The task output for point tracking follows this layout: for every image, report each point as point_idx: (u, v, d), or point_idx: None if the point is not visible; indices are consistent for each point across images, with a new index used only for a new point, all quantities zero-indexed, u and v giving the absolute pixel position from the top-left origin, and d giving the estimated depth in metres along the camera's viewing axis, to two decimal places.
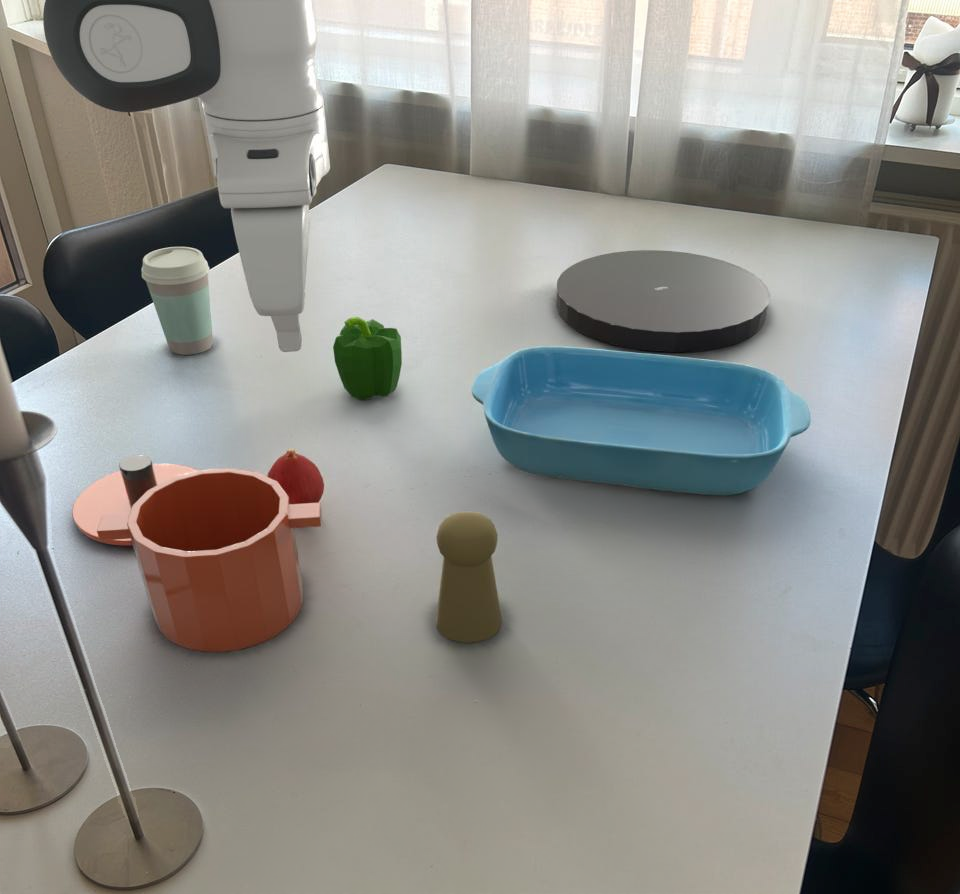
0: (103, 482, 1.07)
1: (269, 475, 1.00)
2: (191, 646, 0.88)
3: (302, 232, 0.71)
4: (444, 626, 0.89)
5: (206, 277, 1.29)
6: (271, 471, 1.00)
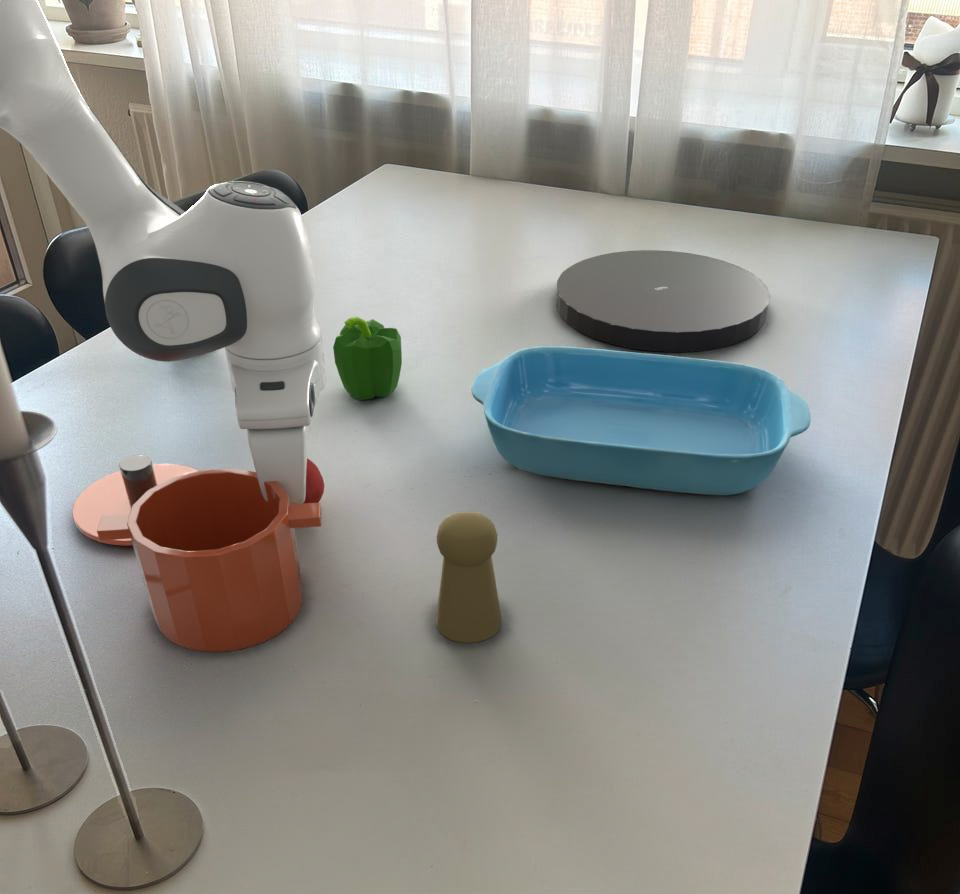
0: (103, 482, 1.07)
1: None
2: (191, 646, 0.88)
3: (303, 446, 0.89)
4: (444, 626, 0.89)
5: None
6: None
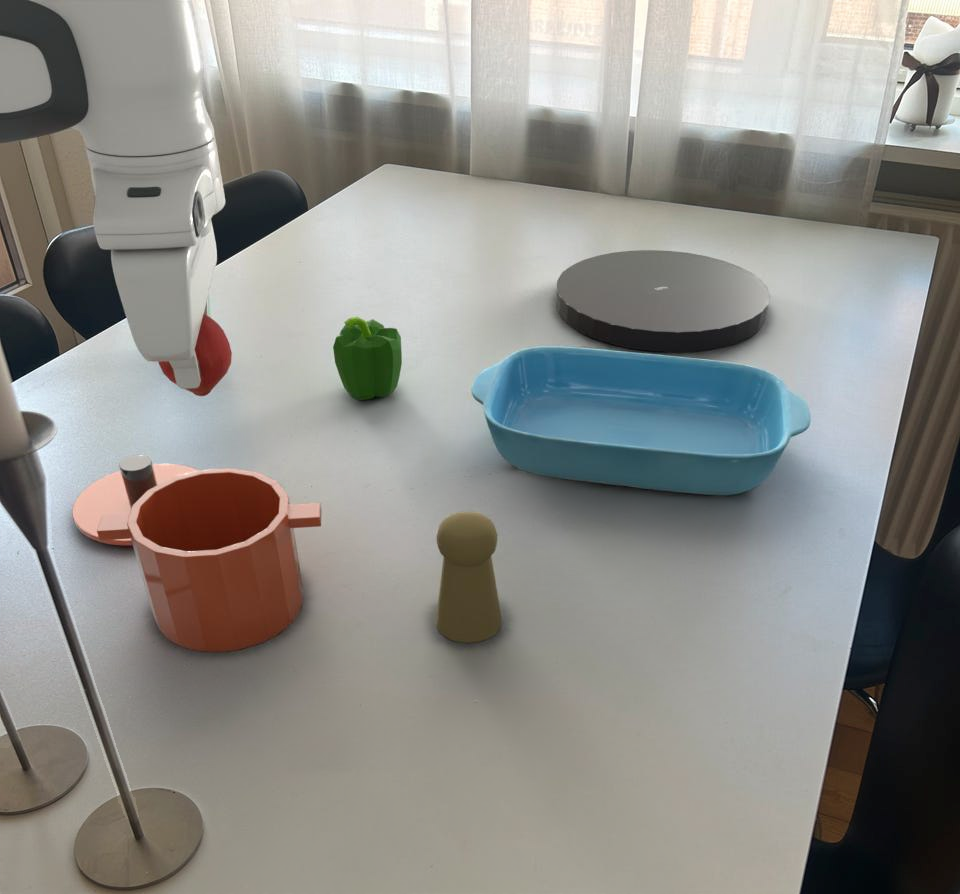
0: (103, 482, 1.07)
1: None
2: (191, 646, 0.88)
3: (187, 275, 0.67)
4: (444, 626, 0.89)
5: None
6: None
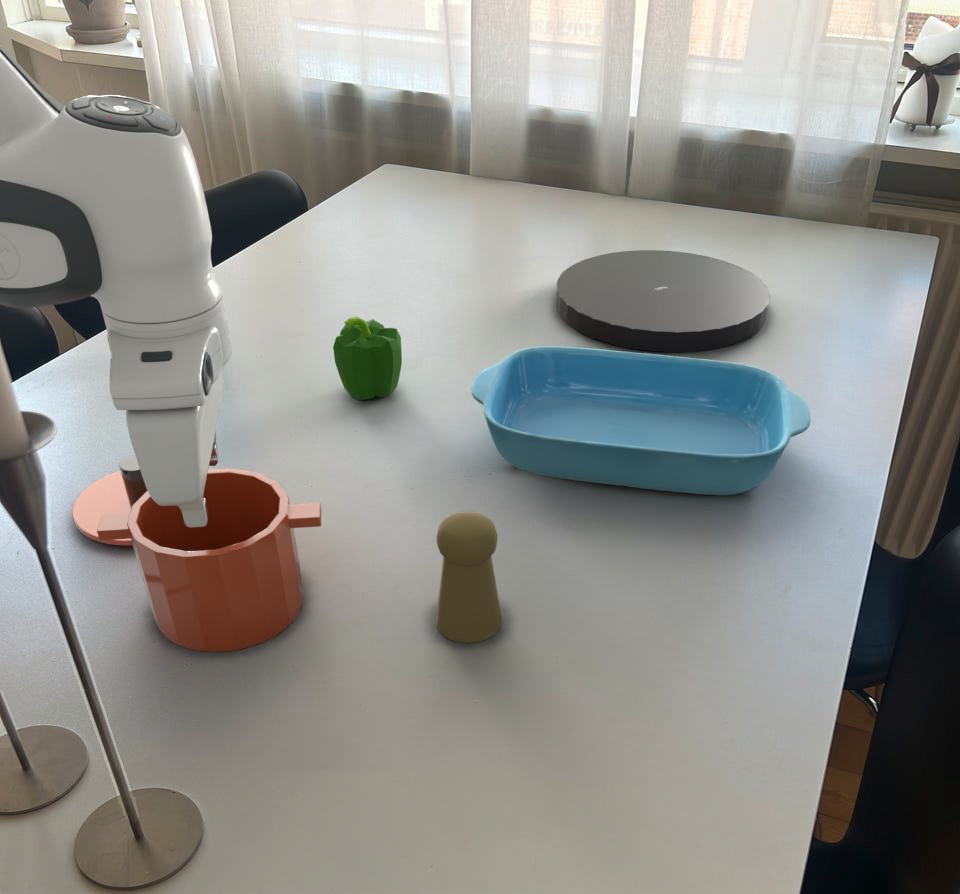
0: (103, 482, 1.07)
1: None
2: (191, 646, 0.88)
3: (196, 432, 0.72)
4: (444, 626, 0.89)
5: None
6: None
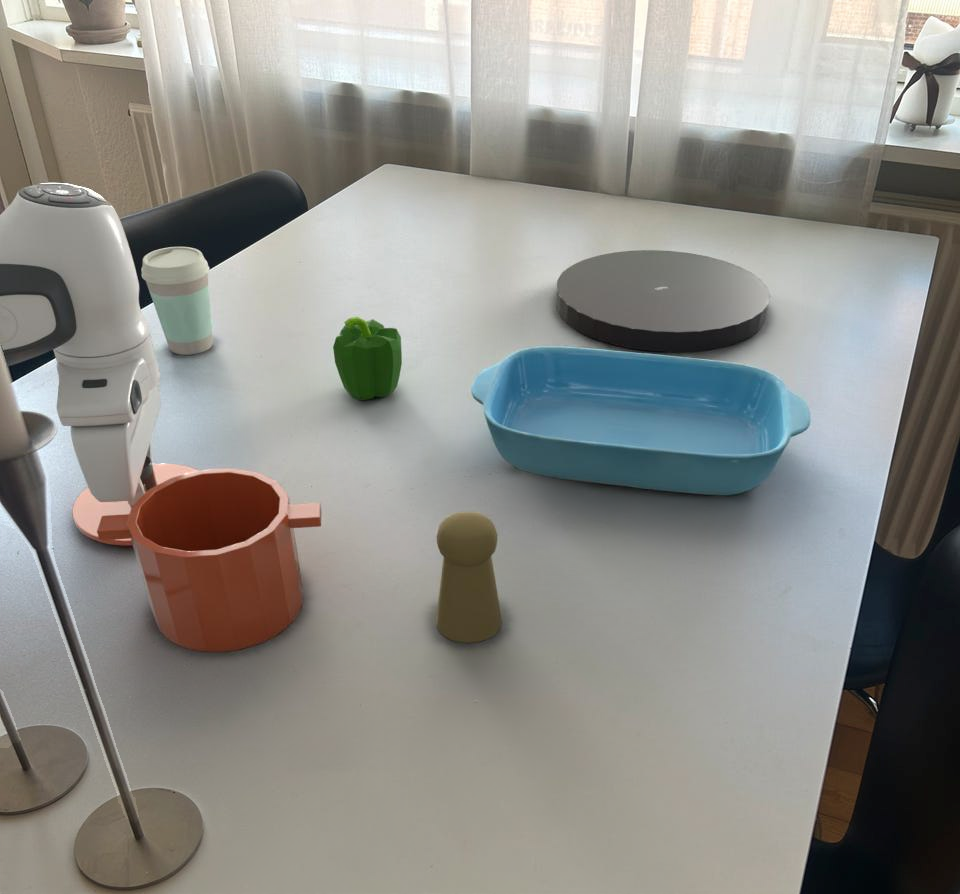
0: None
1: None
2: (191, 646, 0.88)
3: (126, 443, 0.90)
4: (444, 626, 0.89)
5: (206, 277, 1.29)
6: None
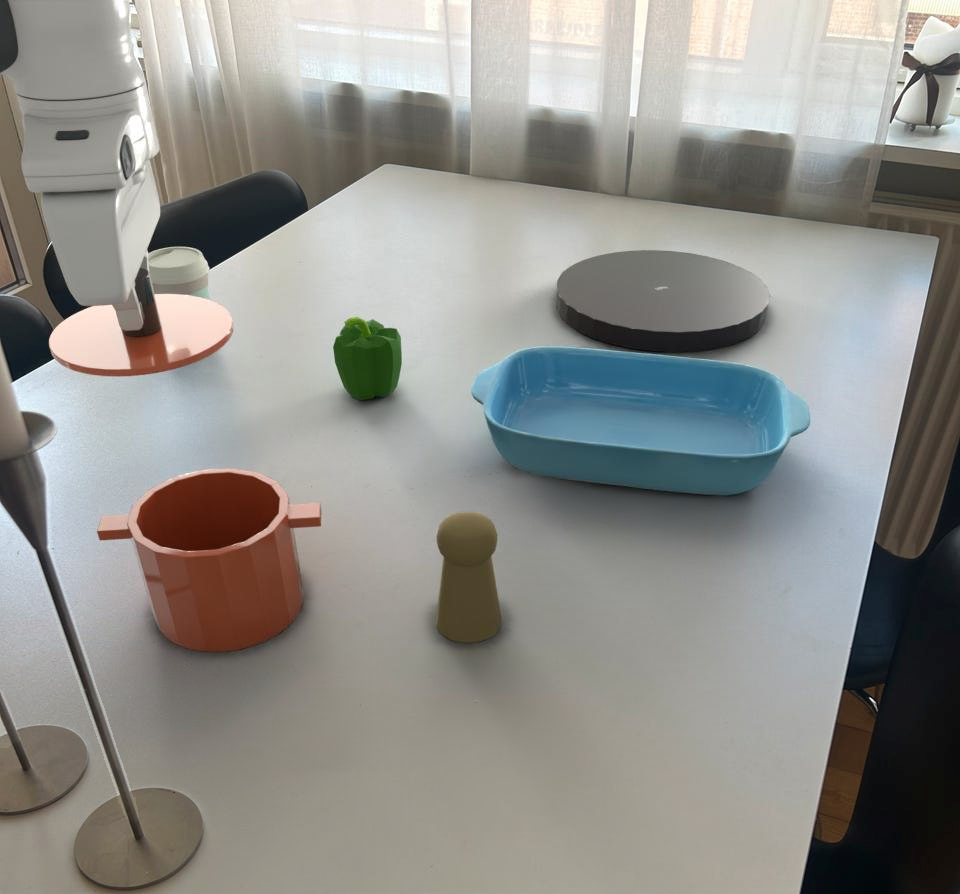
0: (89, 312, 0.85)
1: None
2: (191, 646, 0.88)
3: (116, 217, 0.68)
4: (444, 626, 0.89)
5: (206, 277, 1.29)
6: None
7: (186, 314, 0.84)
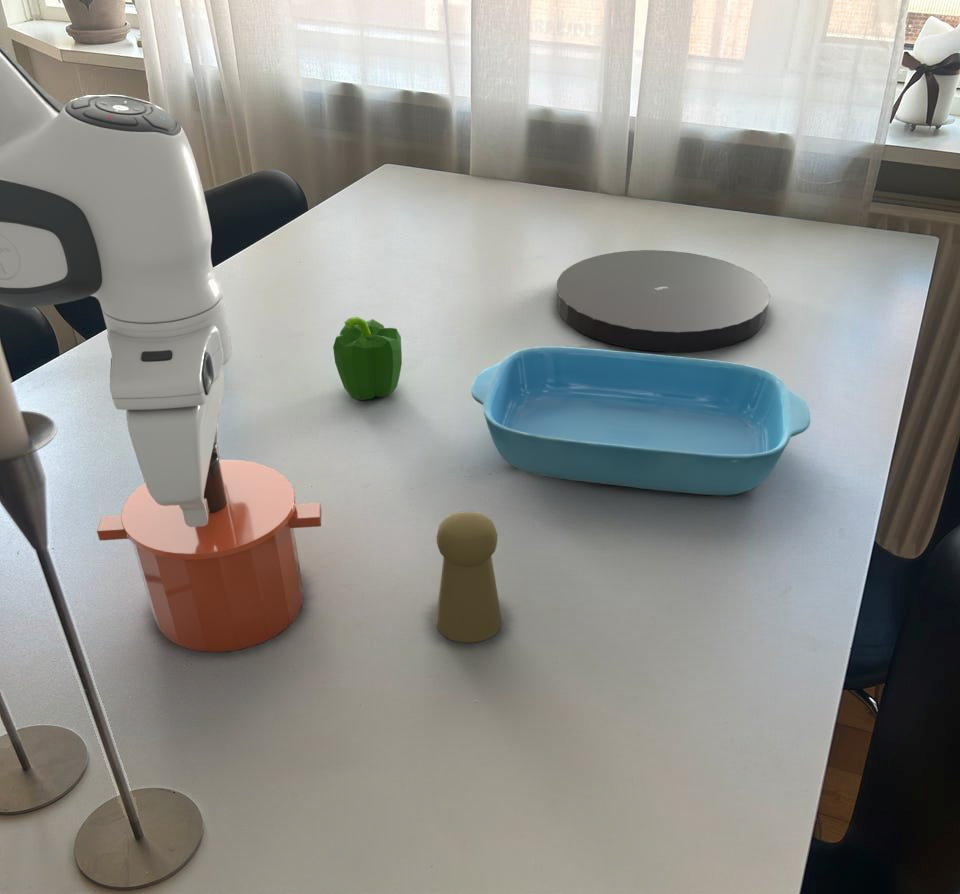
0: None
1: None
2: (191, 646, 0.88)
3: (196, 431, 0.72)
4: (444, 626, 0.89)
5: None
6: None
7: (250, 485, 0.88)
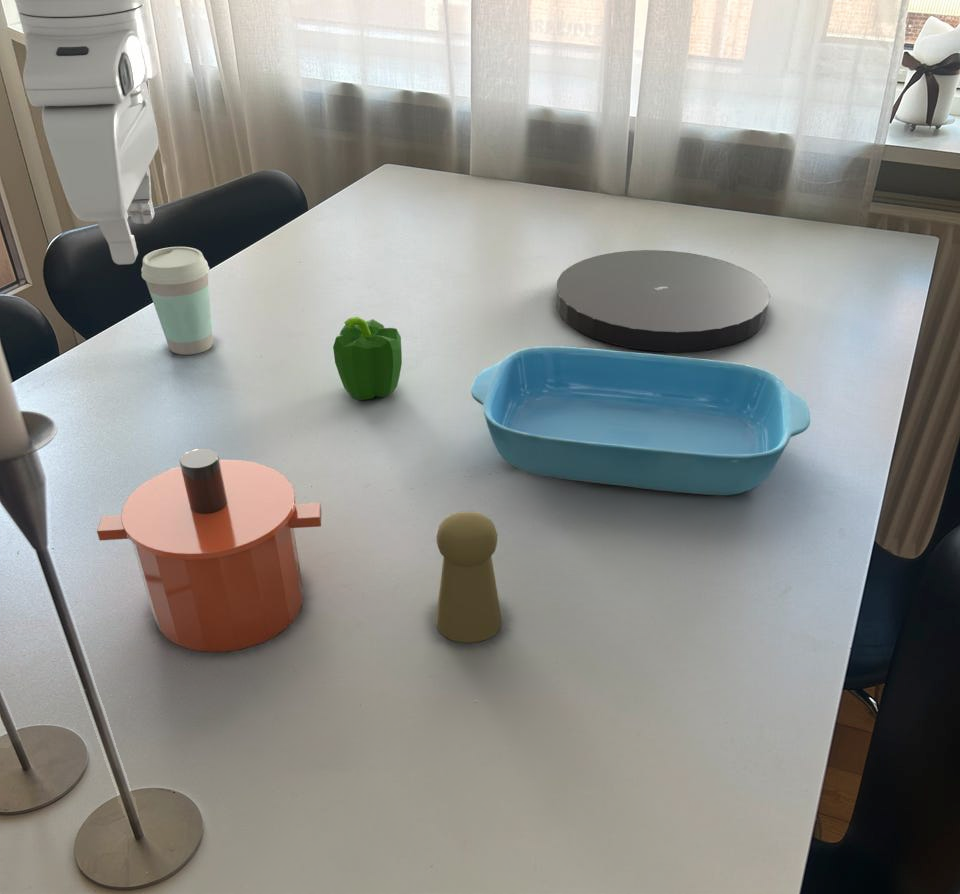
0: (156, 482, 0.89)
1: None
2: (191, 646, 0.88)
3: (114, 131, 0.70)
4: (444, 626, 0.89)
5: (206, 277, 1.29)
6: None
7: (250, 485, 0.88)
